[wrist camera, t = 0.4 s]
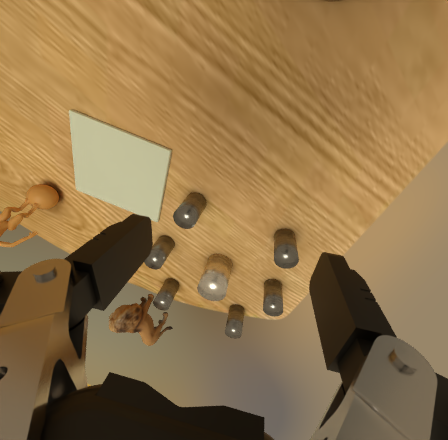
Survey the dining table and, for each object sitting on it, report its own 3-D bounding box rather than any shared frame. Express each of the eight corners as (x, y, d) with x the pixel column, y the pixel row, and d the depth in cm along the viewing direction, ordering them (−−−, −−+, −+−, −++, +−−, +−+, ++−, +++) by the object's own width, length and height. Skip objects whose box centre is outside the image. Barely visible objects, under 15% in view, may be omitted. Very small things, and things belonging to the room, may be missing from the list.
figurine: (77, 195, 35) (-2, 238, 25) (74, 220, 38) (3, 266, 28) (30, 169, 34) (-73, 201, 24) (31, 197, 37) (-59, 236, 27)
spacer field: (169, 181, 30) (153, 195, 26) (318, 241, 30) (325, 265, 26) (150, 279, 42) (137, 300, 38) (254, 321, 43) (252, 346, 38)
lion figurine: (125, 287, 46) (96, 326, 38) (142, 282, 43) (114, 322, 36) (165, 327, 51) (147, 368, 44) (182, 324, 49) (165, 366, 41)
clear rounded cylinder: (211, 250, 35) (201, 276, 30) (236, 259, 35) (229, 287, 30) (204, 267, 37) (194, 294, 32) (227, 276, 37) (220, 304, 32)
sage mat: (72, 109, 27) (68, 109, 27) (172, 149, 27) (170, 151, 27) (78, 188, 34) (76, 189, 33) (159, 220, 34) (157, 222, 33)
